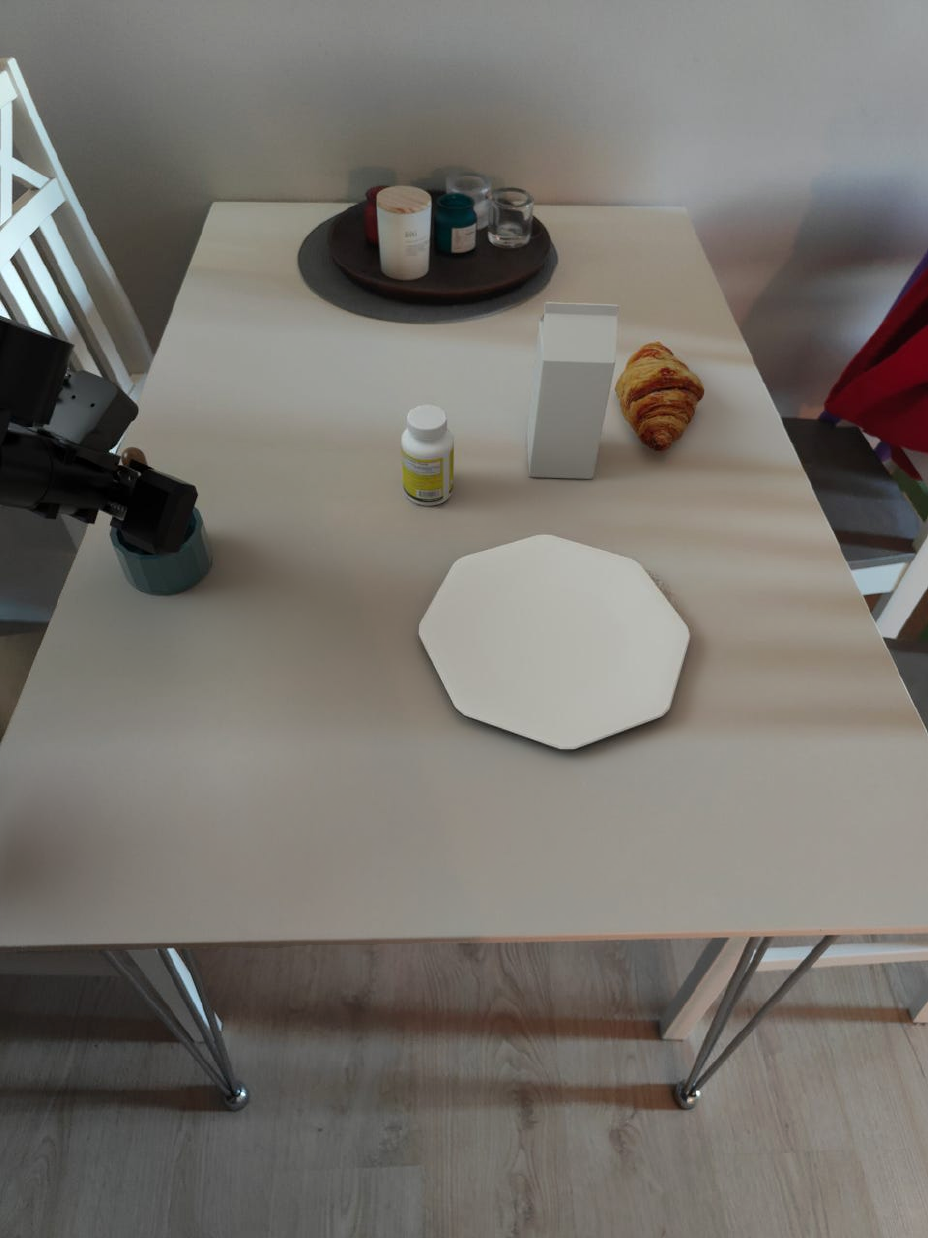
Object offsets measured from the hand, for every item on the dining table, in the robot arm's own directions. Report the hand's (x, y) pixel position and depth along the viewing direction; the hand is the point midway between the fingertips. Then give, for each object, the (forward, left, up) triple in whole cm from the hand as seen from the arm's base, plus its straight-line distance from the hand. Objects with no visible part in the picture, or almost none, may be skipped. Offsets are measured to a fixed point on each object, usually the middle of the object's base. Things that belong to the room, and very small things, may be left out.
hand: (158, 494), depth 79 cm
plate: (+36, -12, -8) cm, 39 cm away
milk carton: (+40, +14, -8) cm, 43 cm away
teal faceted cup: (-1, -1, -8) cm, 8 cm away
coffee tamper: (-1, -1, -7) cm, 7 cm away
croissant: (+53, +23, -8) cm, 59 cm away
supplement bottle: (+25, +9, -8) cm, 28 cm away
